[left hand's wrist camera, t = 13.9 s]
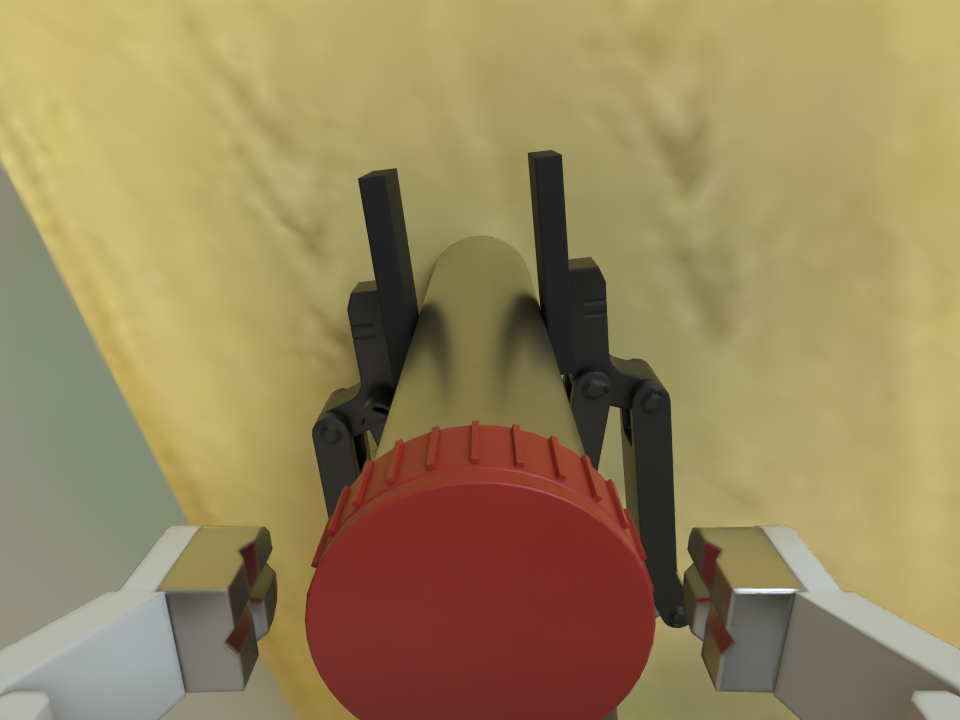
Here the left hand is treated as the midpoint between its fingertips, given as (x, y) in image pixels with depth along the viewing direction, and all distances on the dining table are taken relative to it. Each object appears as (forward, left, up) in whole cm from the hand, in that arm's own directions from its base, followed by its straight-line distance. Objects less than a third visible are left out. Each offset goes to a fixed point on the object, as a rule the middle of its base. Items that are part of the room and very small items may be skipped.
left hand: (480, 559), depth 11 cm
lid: (0, 0, +1) cm, 1 cm away
